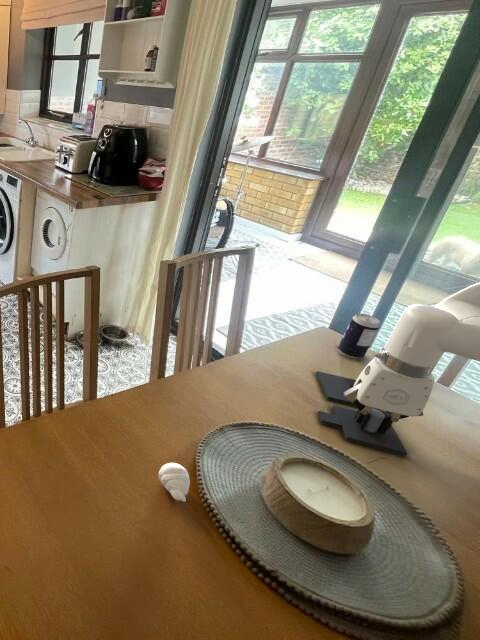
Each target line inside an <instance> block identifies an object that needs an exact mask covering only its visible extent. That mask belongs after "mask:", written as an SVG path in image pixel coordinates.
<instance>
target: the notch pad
mask: <svg viewBox="0 0 480 640" xmlns="http://www.w3.org/2000/svg"><path fill="white" fill-rule="evenodd" d="M315 375H316V378H317V380H318V383H319V385H320V387H321V390H322V392H323V394H324V396H325V399H326V400H327V401H330V402H335V403H338V404H343V405H347V406H351V407H354V408H357V406H356V405H355V404H354V403H353V402H351V401H349V400H348V399H346V398H345V396H344V394H343V393H344V392H345V391H347V390H349V389H350V388H352V387H353V386H354V384H355V382H356V380H357V379H353V378H349V377H346V376H345V377H344V376H341V375H336V374H332V373H327V372H323V371H318V370H317V371H316V372H315ZM356 397H357V396H356ZM374 409H377V408H374ZM377 410H379V411H381V409H377Z"/></svg>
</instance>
